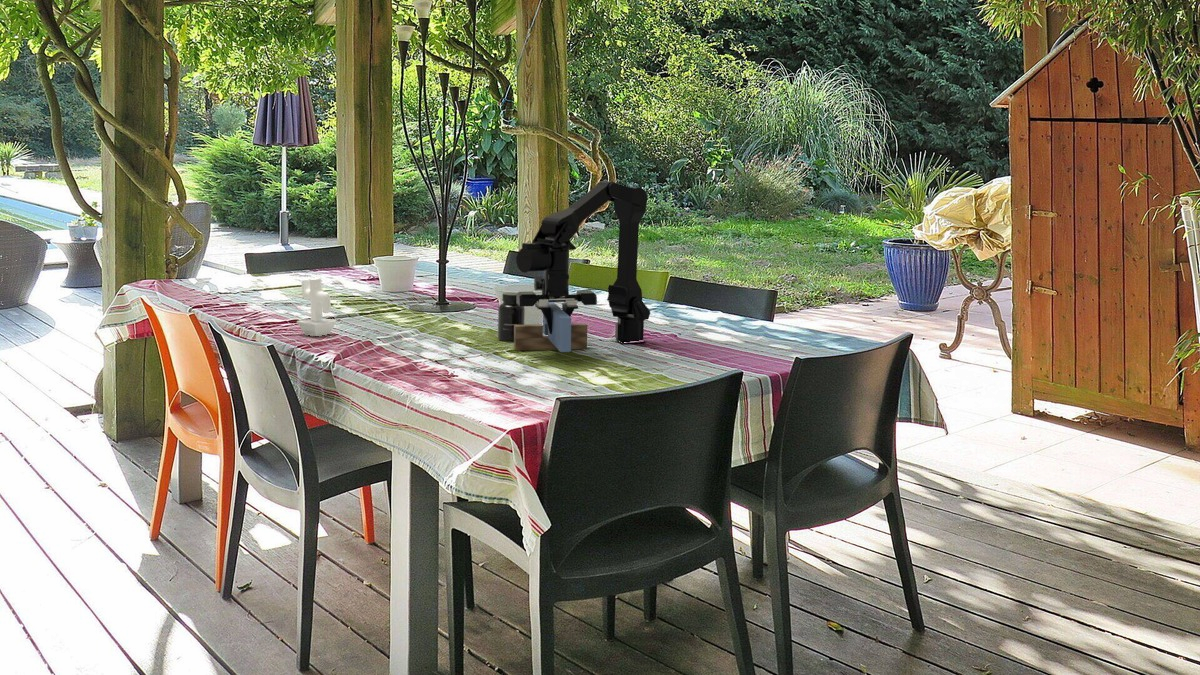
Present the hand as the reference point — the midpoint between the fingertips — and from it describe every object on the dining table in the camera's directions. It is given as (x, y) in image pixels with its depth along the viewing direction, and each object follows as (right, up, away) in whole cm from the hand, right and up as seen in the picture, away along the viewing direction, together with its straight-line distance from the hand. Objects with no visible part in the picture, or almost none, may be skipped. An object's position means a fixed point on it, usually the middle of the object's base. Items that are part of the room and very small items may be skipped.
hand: (556, 333), depth 251 cm
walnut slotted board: (-2, -4, +8) cm, 9 cm away
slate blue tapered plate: (0, -2, 0) cm, 2 cm away
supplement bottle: (-12, -2, +18) cm, 22 cm away
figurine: (-63, 0, +20) cm, 66 cm away
